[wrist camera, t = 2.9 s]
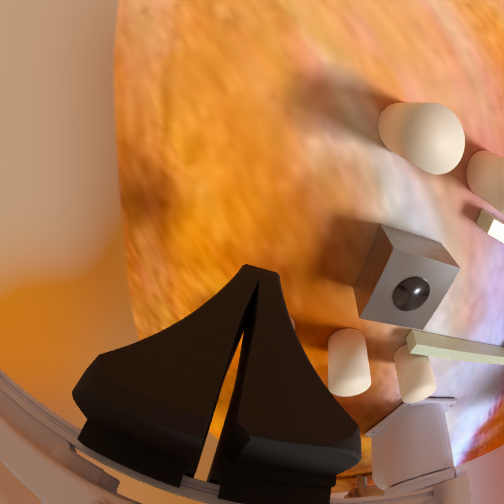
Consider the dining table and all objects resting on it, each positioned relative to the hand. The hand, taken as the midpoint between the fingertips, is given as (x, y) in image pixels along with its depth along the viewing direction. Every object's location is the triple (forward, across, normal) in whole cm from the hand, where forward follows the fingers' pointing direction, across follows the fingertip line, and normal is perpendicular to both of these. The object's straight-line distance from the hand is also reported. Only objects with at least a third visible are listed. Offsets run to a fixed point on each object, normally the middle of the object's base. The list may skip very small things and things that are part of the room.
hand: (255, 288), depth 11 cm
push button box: (+6, -8, 0) cm, 10 cm away
